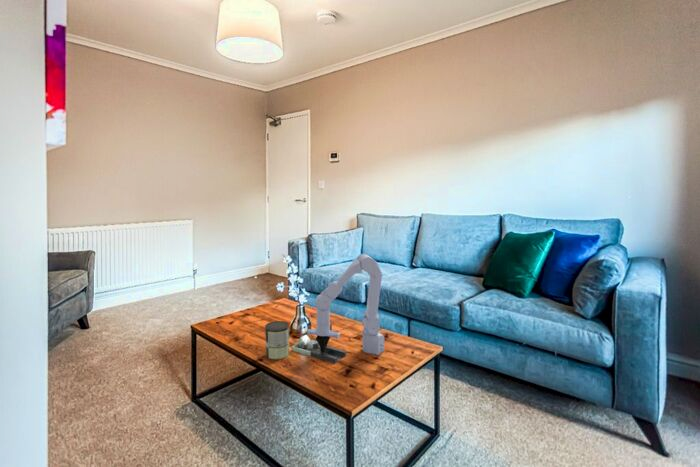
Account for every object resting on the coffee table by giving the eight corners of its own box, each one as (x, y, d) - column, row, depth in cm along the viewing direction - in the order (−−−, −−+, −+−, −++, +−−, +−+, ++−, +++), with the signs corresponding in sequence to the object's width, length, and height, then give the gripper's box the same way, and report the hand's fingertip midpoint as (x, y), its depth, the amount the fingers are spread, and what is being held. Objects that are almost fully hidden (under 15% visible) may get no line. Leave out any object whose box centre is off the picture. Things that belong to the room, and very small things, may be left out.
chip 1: (307, 346, 171) (311, 341, 169) (301, 349, 168) (305, 344, 166) (302, 339, 173) (306, 334, 171) (296, 342, 169) (300, 337, 167)
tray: (322, 349, 169) (322, 344, 168) (310, 357, 161) (310, 352, 161) (304, 344, 174) (304, 339, 174) (291, 351, 167) (291, 346, 166)
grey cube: (318, 350, 167) (318, 341, 167) (313, 353, 164) (312, 344, 164) (312, 347, 170) (312, 339, 169) (306, 350, 167) (306, 342, 166)
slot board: (346, 356, 162) (346, 351, 161) (334, 365, 154) (334, 359, 154) (322, 349, 169) (322, 344, 168) (310, 357, 161) (310, 351, 161)
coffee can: (260, 356, 162) (260, 325, 160) (279, 348, 170) (278, 319, 168) (276, 363, 155) (275, 331, 154) (294, 355, 163) (294, 324, 162)
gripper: (341, 320, 162) (342, 350, 164) (311, 317, 167) (312, 345, 169) (336, 326, 156) (336, 357, 158) (304, 322, 160) (305, 352, 162)
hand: (323, 351), depth 163 cm, fingers closed
